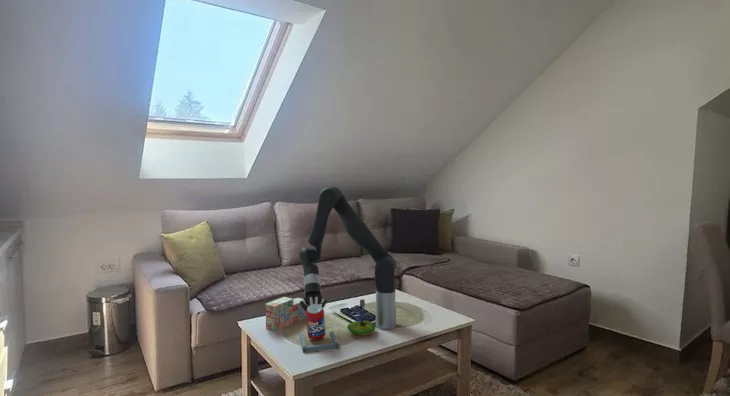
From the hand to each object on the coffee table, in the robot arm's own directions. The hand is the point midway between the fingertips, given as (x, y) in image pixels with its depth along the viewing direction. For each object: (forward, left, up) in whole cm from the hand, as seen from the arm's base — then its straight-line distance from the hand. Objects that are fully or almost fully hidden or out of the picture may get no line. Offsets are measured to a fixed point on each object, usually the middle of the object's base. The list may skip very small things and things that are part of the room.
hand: (314, 320), depth 195 cm
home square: (-2, +6, -8) cm, 10 cm away
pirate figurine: (-21, -3, -8) cm, 23 cm away
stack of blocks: (+14, -18, -8) cm, 24 cm away
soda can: (-1, +1, -7) cm, 7 cm away
